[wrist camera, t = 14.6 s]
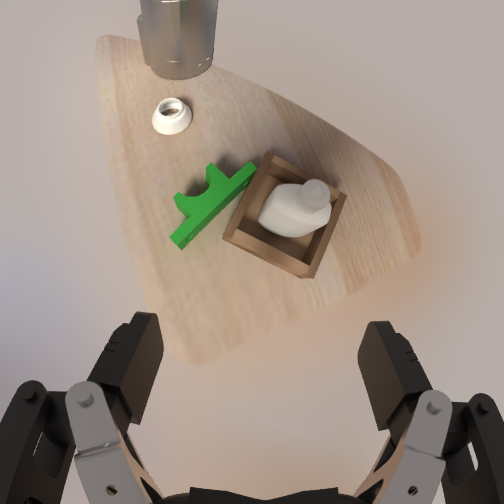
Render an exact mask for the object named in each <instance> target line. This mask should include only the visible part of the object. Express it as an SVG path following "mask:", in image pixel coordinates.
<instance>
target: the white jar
mask: <svg viewBox="0 0 504 504" xmlns="http://www.w3.org/2000/svg"><path fill="white" fill-rule="evenodd" d="M172 108H176V109H180V110H179V112H178V113H171V114H168V115H167V116H164V115H162V114H161V113H163V112H164V111H165V110H168V109H172ZM191 115H192V113H191V111H190V109H189V107H188V106H187V105H185V104H184V103H183V102H181V101H180V100H179V99H176V98H167V99H165V100H163V101H162V102H161V103H160V104H159V105H158V107H157V109H156V110H155V112H154V114H153V116H152V123H153V126H154V129H156V130H157V131H158V132H159V133H162V134H165V135H172V134H177V133H179V132H182V131H183V130H184V129H185V128H187V127H188V125H189V124H190V122H191Z"/></svg>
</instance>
